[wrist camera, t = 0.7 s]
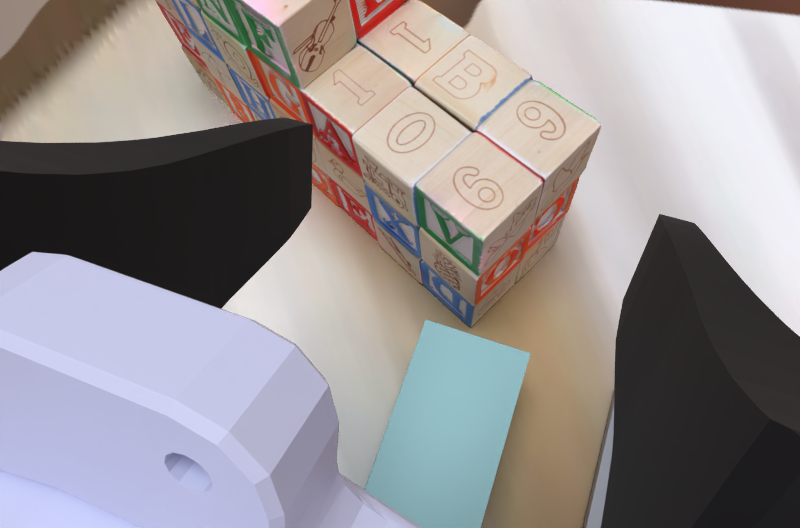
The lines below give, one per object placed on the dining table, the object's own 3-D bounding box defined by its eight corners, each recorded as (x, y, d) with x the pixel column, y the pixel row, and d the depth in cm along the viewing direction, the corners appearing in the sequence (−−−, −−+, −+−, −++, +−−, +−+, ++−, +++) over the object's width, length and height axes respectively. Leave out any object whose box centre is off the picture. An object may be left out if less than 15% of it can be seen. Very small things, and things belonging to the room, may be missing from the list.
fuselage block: (460, 574, 23) (462, 589, 18) (366, 535, 24) (346, 540, 19) (516, 381, 26) (530, 353, 21) (430, 353, 26) (425, 319, 22)
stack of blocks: (560, 242, 28) (633, 60, 17) (470, 332, 27) (484, 200, 15) (281, 20, 35) (200, -212, 24) (199, 82, 34) (72, -133, 23)
